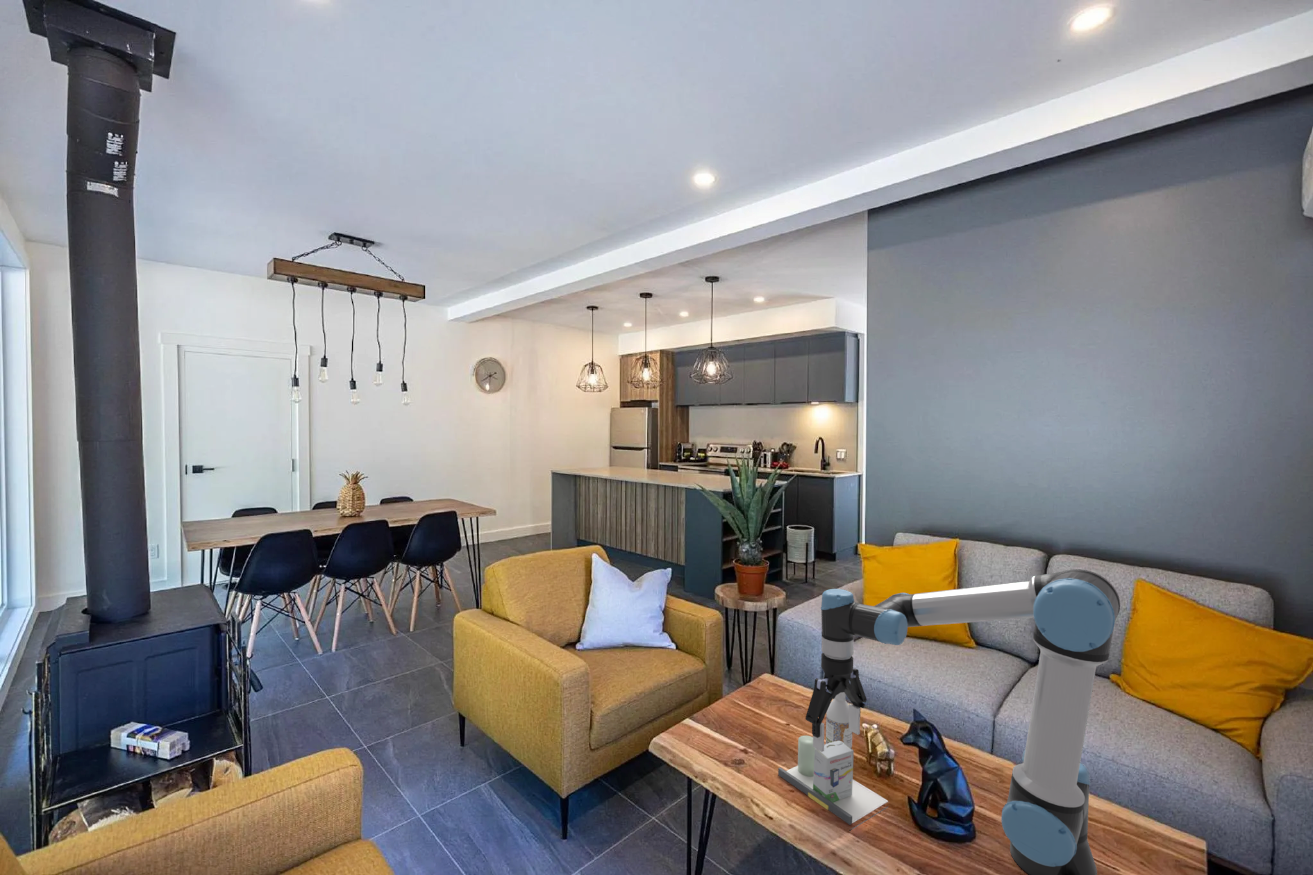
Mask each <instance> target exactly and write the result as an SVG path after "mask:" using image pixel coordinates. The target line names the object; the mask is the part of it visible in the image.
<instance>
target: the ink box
mask: <svg viewBox="0 0 1313 875" xmlns="http://www.w3.org/2000/svg"><path fill="white" fill-rule="evenodd" d="M854 754H855V753H854V749H853V748H852V749H851V748H850V747H848V746H847V745H846V744H845V743H843V742H842V741H835V742H832V743H828V744H826V743H824V751H823V752H821V751H819V750H817V749H816V748H815V754H814V778H813V790H815V791H816V792H818V793H819V794H821V795H822V796H823V797H825V798H826V799H828V800H829V801H831V802H832V803H833V802H836V801H838V800H841V799H843V798H846V797H849V796H851V795H852V784H853V780H854V779H853V778H854V776H853V775H854Z"/></svg>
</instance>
